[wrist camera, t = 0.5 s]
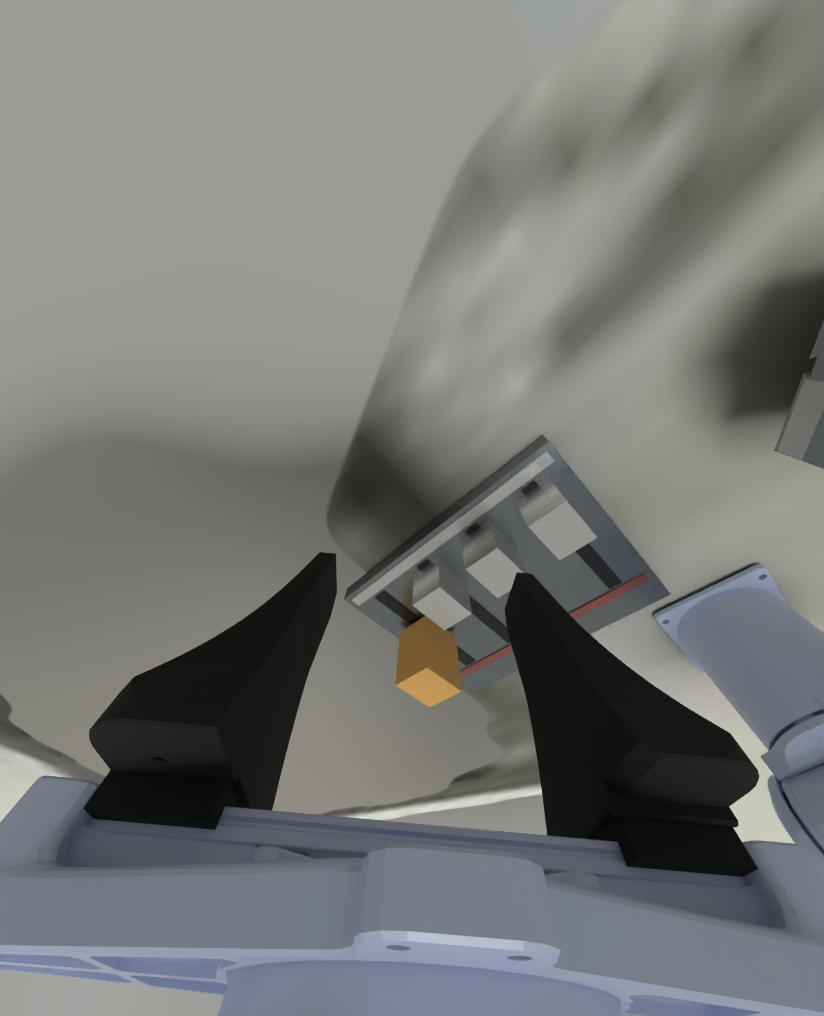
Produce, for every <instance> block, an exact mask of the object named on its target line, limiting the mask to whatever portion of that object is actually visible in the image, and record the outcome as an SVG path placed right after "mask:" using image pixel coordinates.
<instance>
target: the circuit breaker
mask: <svg viewBox="0 0 824 1016" xmlns="http://www.w3.org/2000/svg"><path fill="white" fill-rule="evenodd" d="M813 358H817V359H816V361H815V364H814V367H813V369H812V371H810V372H805V373H804V374H803V376H802V379H801V382H800V384H799V387H798V389H797V392H796V395H795V397H794V400H793V403H792V405H791V408H790V411H789V413H788V416H787V418H786V421H785V424H784V426H783V429H782V432H781V434H780V437H779V439H778V442H777V445H776V447H775V450H774V451H776V452H779V453H782V454H785V455H787V456H790V457H793V458H796V459H799V460H801V461H804V462H807V463H810V464H812V465H815V466H818V467H821V468H824V321H823V324H822V326H821V329H820V331H819V334H818V337H817V339H816V342H815V345H814V347H813V350H812V352H811V355H810V358H809V359H813Z"/></svg>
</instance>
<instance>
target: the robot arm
mask: <svg viewBox="0 0 824 1016" xmlns="http://www.w3.org/2000/svg"><path fill="white" fill-rule="evenodd" d="M336 593H337V582H336V554H333V553H323V552H320V553H319V554H318V555H317V556H316V557H315V558H314V559H313V560H312V561H311V562H310V563H309V564H308V565H307V566H306V567H305V568H304V569H303V570H302V571H301V572H300V573H299V574H298V575H297V576H295V577H294V578H293V579H292V580H291V581H290V582H289V583H288V584H287V585H286V586H285V587H284V588H282V589H281V590H280V591H279V592H278V593H276V594H275V595H274V596H273V597H272V598H271V599H269V600H268V601H267V602H266V603H264V604H263V605H262V606H260V607H259V608H258V609H256V610H255V611H254V612H253V613H251V614H250V615H248V616H247V617H245V618H244V619H243V620H241V621H240V622H238V623H237V624H235V625H234V626H232V627H230V628H229V629H227V630H225V631H224V632H222V633H221V634H219V635H217V636H216V637H214V638H212V639H211V640H209V641H207V642H205V643H203V644H202V645H200V646H198V647H196V648H194V649H192V650H190V651H188V652H186V653H185V654H183V655H181V656H179V657H176V658H175V659H173V660H170V661H168V662H166V663H164V664H162V665H159V666H157V667H155V668H153V669H151V670H148V671H146V672H144V673H142V674H139V675H137V676H135V677H134V678H133V679H132V680H131V681H130V682H129V683H128V684H127V685H126V686H125V688H124V689H123V690H122V691H121V692H120V693H119V694H118V696H117V697H116V698H115V699H114V700H113V702H112V703H111V704H110V705H109V707H108V708H107V709H106V710H105V712H104V713H103V714H102V715H101V717H100V718H99V719H98V720H97V721H96V723H95V724H94V725H93V726H92V728H91V729H90V732H89V738H90V742H91V744H92V746H93V747H94V749H95V750H96V751H97V753H98V754H99V755H100V756H101V758H102V759H103V760H104V762H105V763H106V764H107V765H108V767H109V768H110V769H111V770H110V772H109V773H108V775H107V776H106V777H105V779H104V780H103V782H102V783H101V784H98V783H96V782H93V781H91V780H86V779H77V778H66V777H55V776H42V777H40V778H38V779H37V780H36V781H35V783H34V784H33V785H32V786H31V787H30V788H29V790H28V791H27V792H26V793H25V794H24V795H23V797H22V798H21V799H20V800H19V801H18V802H17V804H16V805H15V806H14V807H13V808H12V809H11V811H10V812H9V813H8V814H7V815H6V816H5V818H4V819H3V820H2V821H1V822H0V970H1V971H12V972H23V973H33V974H43V975H53V976H63V977H71V978H80V979H89V980H99V981H106V982H115V983H123V984H132V985H140V986H149V987H157V988H165V989H173V990H182V991H191V992H200V993H207V994H216V995H224V997H223V1000H222V1004H221V1007H220V1010H219V1014H218V1016H824V633H823V632H822V631H821V630H819V629H818V628H817V627H815V626H814V625H813V624H811V623H810V622H809V621H808V620H806V619H805V618H804V617H802V616H801V615H800V614H799V613H797V612H796V611H795V610H793V609H792V608H791V607H790V606H789V605H788V603H787V601H786V600H785V598H784V596H783V595H782V593H781V591H780V590H779V588H778V586H777V584H776V583H775V581H774V579H773V578H772V576H771V574H770V573H769V571H768V569H767V568H765V567H764V566H763V565H755V566H752V567H750V568H748V569H746V570H744V571H742V572H740V573H738V574H736V575H734V576H731V577H729V578H727V579H725V580H723V581H721V582H719V583H717V584H715V585H713V586H711V587H709V588H706V589H704V590H702V591H700V592H698V593H696V594H694V595H692V596H690V597H688V598H686V599H684V600H681V601H679V602H677V603H675V604H673V605H671V606H669V607H667V608H665V609H663V610H661V611H659V612H657V613H655V615H654V618H655V620H656V621H657V622H658V623H659V625H660V626H661V627H662V628H663V629H664V630H665V631H666V633H667V634H668V635H669V636H670V637H671V638H672V640H673V641H674V642H675V643H676V644H677V645H678V647H679V648H680V649H681V650H682V651H683V652H684V653H685V655H686V656H687V657H688V658H689V659H690V660H691V662H692V663H693V664H694V665H695V666H696V667H697V669H698V670H699V671H700V672H706V673H707V675H708V676H709V677H710V678H711V680H712V681H713V682H714V683H715V685H716V686H717V687H718V688H719V690H720V691H721V692H722V693H723V695H724V696H725V697H726V698H727V700H728V701H729V702H730V703H731V704H732V706H733V707H734V708H735V709H736V711H737V712H738V713H739V714H740V716H741V717H742V718H743V719H744V721H745V722H746V723H747V724H748V726H749V727H750V728H751V729H752V731H753V732H754V733H755V734H756V736H757V737H758V738H759V739H760V740H761V742H762V743H763V744H764V745H765V747H766V748H767V749H768V750H769V751H768V752H767V753H765V754H763V755H761V758H762V760H763V761H764V762H765V763H766V765H767V766H768V767H769V769H770V770H771V771H772V772H773V775H771V776H770V777H769V778H768V789H769V793H770V795H771V801H772V804H773V807H774V809H775V811H776V813H777V815H778V817H779V819H780V821H781V823H782V824H783V826H784V828H785V829H786V831H787V832H788V834H789V835H790V837H791V838H792V840H793V841H794V842H795V844H791V843H780V842H769V841H747V842H743V843H742V841H741V840H740V838H739V837H738V835H737V833H736V832H735V830H734V828H733V827H737V826H738V820H737V819H736V817H735V816H734V814H733V812H732V811H731V809H730V808H729V806H730V805H732V804H733V803H734V802H736V801H737V800H739V799H740V798H741V797H743V796H744V795H746V794H747V793H748V792H750V791H751V790H752V789H753V788H754V787H755V786H756V784H757V782H758V779H759V774H758V770H757V769H756V767H755V766H754V765H753V763H752V762H751V761H750V759H749V758H748V757H747V755H746V754H745V753H744V751H743V750H742V749H741V747H740V746H739V744H738V743H737V742H736V740H735V739H734V738H733V736H732V735H731V734H730V733H729V732H727V731H725V730H724V729H722V728H720V727H718V726H717V725H715V724H713V723H712V722H710V721H708V720H707V719H705V718H703V717H702V716H700V715H698V714H697V713H695V712H693V711H692V710H690V709H688V708H687V707H685V706H684V705H682V704H680V703H679V702H677V701H676V700H674V699H673V698H671V697H670V696H668V695H667V694H665V693H664V692H662V691H661V690H659V689H658V688H656V687H655V686H654V685H652V684H651V683H649V682H648V681H647V680H645V679H644V678H642V677H641V676H640V675H638V674H637V673H636V672H634V671H633V670H632V669H630V668H629V667H628V666H626V665H625V664H624V663H623V662H621V661H620V660H619V659H618V658H616V657H615V656H614V655H613V654H612V653H610V652H609V651H608V650H607V649H606V648H605V647H603V646H602V645H601V644H600V643H599V642H598V641H597V640H595V639H594V638H593V637H592V636H591V635H590V634H589V633H588V632H587V631H586V630H585V629H584V628H583V627H582V626H581V625H580V624H578V623H577V622H576V620H575V619H574V618H573V617H572V616H571V615H570V614H569V613H568V612H567V611H566V610H565V609H564V608H563V607H562V606H561V605H560V604H559V603H558V602H557V601H556V600H555V598H554V597H553V596H552V595H551V594H550V593H549V592H548V591H547V590H546V589H545V587H544V586H543V585H542V584H541V583H540V582H539V581H538V580H537V579H536V578H535V577H534V575H533V574H529V573H519V572H517V573H516V576H515V579H514V582H513V585H512V588H511V591H510V594H509V597H508V600H507V603H506V606H505V609H504V610H505V617H506V624H507V630H508V635H509V639H510V642H511V646H512V649H513V653H514V656H515V660H516V663H517V666H518V670H519V673H520V677H521V680H522V684H523V687H524V691H525V695H526V699H527V703H528V708H529V714H530V719H531V724H532V730H533V736H534V742H535V748H536V754H537V760H538V767H539V774H540V781H541V788H542V795H543V803H544V811H545V820H546V827H547V835H534V834H525V833H513V832H502V831H491V830H479V829H469V828H458V827H447V826H436V825H425V824H414V823H403V822H402V823H401V822H392V821H381V820H370V819H359V818H348V817H337V816H325V815H314V814H303V813H292V812H281V811H272V808H273V804H274V800H275V796H276V792H277V787H278V783H279V779H280V775H281V771H282V767H283V763H284V759H285V755H286V752H287V748H288V744H289V740H290V736H291V732H292V729H293V725H294V721H295V718H296V714H297V710H298V707H299V703H300V700H301V696H302V692H303V689H304V686H305V682H306V679H307V676H308V673H309V670H310V668H311V665H312V663H313V660H314V657H315V655H316V652H317V650H318V647H319V645H320V642H321V640H322V637H323V634H324V632H325V629H326V627H327V624H328V622H329V619H330V616H331V613H332V609H333V605H334V601H335V597H336Z"/></svg>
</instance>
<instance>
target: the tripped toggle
mask: <svg viewBox="0 0 824 1016" xmlns="http://www.w3.org/2000/svg"><path fill="white" fill-rule="evenodd" d="M396 686H397V687H399V688H400V689H402V690H403V691H405V692H407V693H408V694H410V695H411V696H413V697H414V698H416V699H418V700H419V701H421V702H422V703H424V704H425V705H427V706H429V707H431V706H433V705H435V704H437V703H439V702H441V701H443V700H445V699H447V698H449V697H451V696H453V695H455V694H457V693H459V692H461V682H460V671H459V661H458V650H457V640H456V637H455V636H454V635H453V634H451V633H450V632H449V631H448V630H444V629H442V628H441V627H440V626H438V625H437V624H436V623H434V622H433V621H432V620H431V619H429V618H428V617H427V616H424V617H423V618H421V619H419V620H418V621H416V622H415V623H413V624H412V625H410V626H409V627H407V628H406V629H404V630H402V631H401V632H400V639H399V651H398V662H397V674H396Z"/></svg>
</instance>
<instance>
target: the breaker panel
mask: <svg viewBox="0 0 824 1016" xmlns="http://www.w3.org/2000/svg"><path fill="white" fill-rule="evenodd" d="M517 572H519V573H529V574H533V575H534V577H535V578H536V579H537V580H538V581H539V582H540V583H541V584H542V585H543V586H544V587H545V589H546V590H547V591H548V592H549V593H550V594H551V595H552V596H553V597H554V598H555V600H556V601H557V602H558V603H559V604H560V605H561V606H562V607H563V608H564V609H565V610H566V611H567V612H568V613H569V614H570V615H571V616H572V617H573V618H574V619H575V620H576V622H577V623H578V624H580V625H581V626H582V627H583V628H584V629H585V630H586V631H587V632H588V633H589V634H591V633H593V632H595V631H597V630H599V629H601V628H603V627H605V626H607V625H609V624H611V623H613V622H615V621H617V620H620V619H622V618H624V617H626V616H628V615H630V614H632V613H634V612H636V611H638V610H640V609H642V608H644V607H646V606H648V605H650V604H652V603H654V602H656V601H658V600H660V599H662V598H664V597H666V596H668V595H670V593H669V592H668V590H667V589H666V588H665V586H664V585H663V584H662V583H661V581H660V580H659V579H658V578H657V576H656V575H655V574H654V573H653V571H652V570H651V569H650V568H649V566H648V565H647V564H646V563H645V561H644V560H643V559H642V558H641V556H640V555H639V554H638V553H637V551H636V550H635V549H634V547H633V546H632V545H631V544H630V542H629V541H628V540H627V539H626V537H625V536H624V535H623V534H622V532H621V531H620V530H619V529H618V527H617V526H616V525H615V524H614V522H613V521H612V520H611V519H610V517H609V516H608V515H607V513H606V512H605V511H604V510H603V508H602V507H601V506H600V505H599V503H598V502H597V501H596V500H595V498H594V497H593V496H592V495H591V493H590V492H589V491H588V490H587V488H586V487H585V486H584V485H583V483H582V482H581V481H580V480H579V478H578V477H577V476H576V474H575V473H574V472H573V471H572V469H571V468H570V467H569V466H568V464H567V463H566V462H565V461H564V459H563V458H562V457H561V456H560V454H559V453H558V452H557V451H556V449H555V448H554V447H553V446H552V444H551V443H550V442H549V441H548V440H547V439H546V438H545V437H544V436H543V435H542V436H541V437H540V438H538V439H537V440H536V441H535V442H533V443H532V444H531V445H530V446H528V447H527V448H526V449H524V450H523V451H522V452H521V453H519V454H518V455H517V456H516V457H514V458H513V459H512V460H510V461H509V462H508V463H507V464H505V465H504V466H503V467H502V468H500V469H499V470H498V471H496V472H495V473H494V474H493V475H491V476H490V477H489V478H488V479H486V480H485V481H484V482H482V483H481V484H480V485H479V486H477V487H476V488H475V489H474V490H472V491H471V492H470V493H468V494H467V495H466V496H465V497H463V498H462V499H461V500H460V501H458V502H457V503H456V504H454V505H453V506H452V507H451V508H449V509H448V510H447V511H445V512H444V513H443V514H442V515H440V516H439V517H438V518H437V519H435V520H434V521H433V522H431V523H430V524H429V525H428V526H426V527H425V528H424V529H423V530H421V531H420V532H419V533H417V534H416V535H415V536H414V537H412V538H411V539H410V540H409V541H407V542H406V543H405V544H403V545H402V546H401V547H400V548H398V549H397V550H396V551H395V552H393V553H392V554H391V555H389V556H388V557H387V558H386V559H384V560H383V561H382V562H381V563H379V564H378V565H377V566H375V567H374V568H373V569H372V570H370V571H369V572H368V573H367V574H365V575H364V576H363V577H362V578H360V579H359V580H358V581H357V582H355V583H354V584H353V585H351V586H350V587H349V588H348V589H347V592H346V595H345V598H344V600H346V601H347V602H348V603H350V604H351V605H353V606H354V607H355V608H357V609H358V610H360V611H361V612H363V613H364V614H365V615H367V616H368V617H370V618H371V619H373V620H374V621H375V622H377V623H378V624H379V625H381V626H382V627H384V628H385V629H386V630H388V631H389V632H391V633H392V634H394V635H395V636H396V637H398V638H399V639H400V632H401V631H402V630H404V629H406V628H407V627H409V626H410V625H412V624H413V623H415V622H416V621H418V620H419V619H421V618H423V617H424V616H427V617H428V618H429V619H431V620H432V621H433V622H434V623H436V624H437V625H438V626H440V627H441V628H442V629H444V630H448V631H449V632H450V633H451V634H453V635H454V636H455V637H456V640H457V650H458V661H459V671H460V682H461V683H462V684H464V685H465V686H467V687H468V688H470V689H471V690H472V691H475V690H478V689H480V688H482V687H484V686H486V685H488V684H490V683H492V682H494V681H496V680H498V679H500V678H502V677H504V676H506V675H508V674H510V673H512V672H514V671H516V670H518V666H517V663H516V660H515V656H514V653H513V649H512V646H511V642H510V639H509V635H508V630H507V624H506V617H505V610H504V609H505V606H506V603H507V600H508V597H509V594H510V591H511V588H512V585H513V582H514V579H515V576H516V573H517Z"/></svg>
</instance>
